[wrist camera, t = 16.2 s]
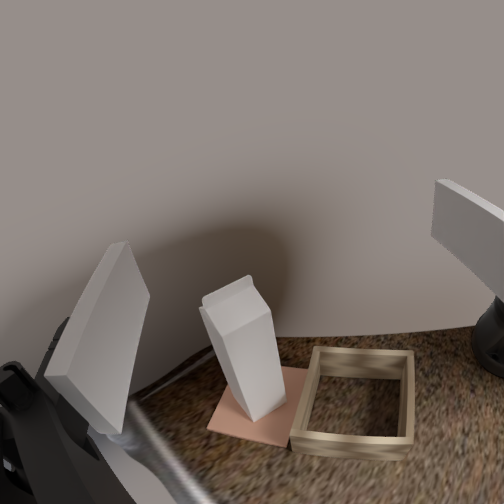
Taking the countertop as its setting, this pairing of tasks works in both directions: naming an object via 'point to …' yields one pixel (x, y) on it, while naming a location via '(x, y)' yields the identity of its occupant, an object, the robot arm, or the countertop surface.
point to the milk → (245, 346)
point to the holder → (357, 366)
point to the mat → (268, 427)
